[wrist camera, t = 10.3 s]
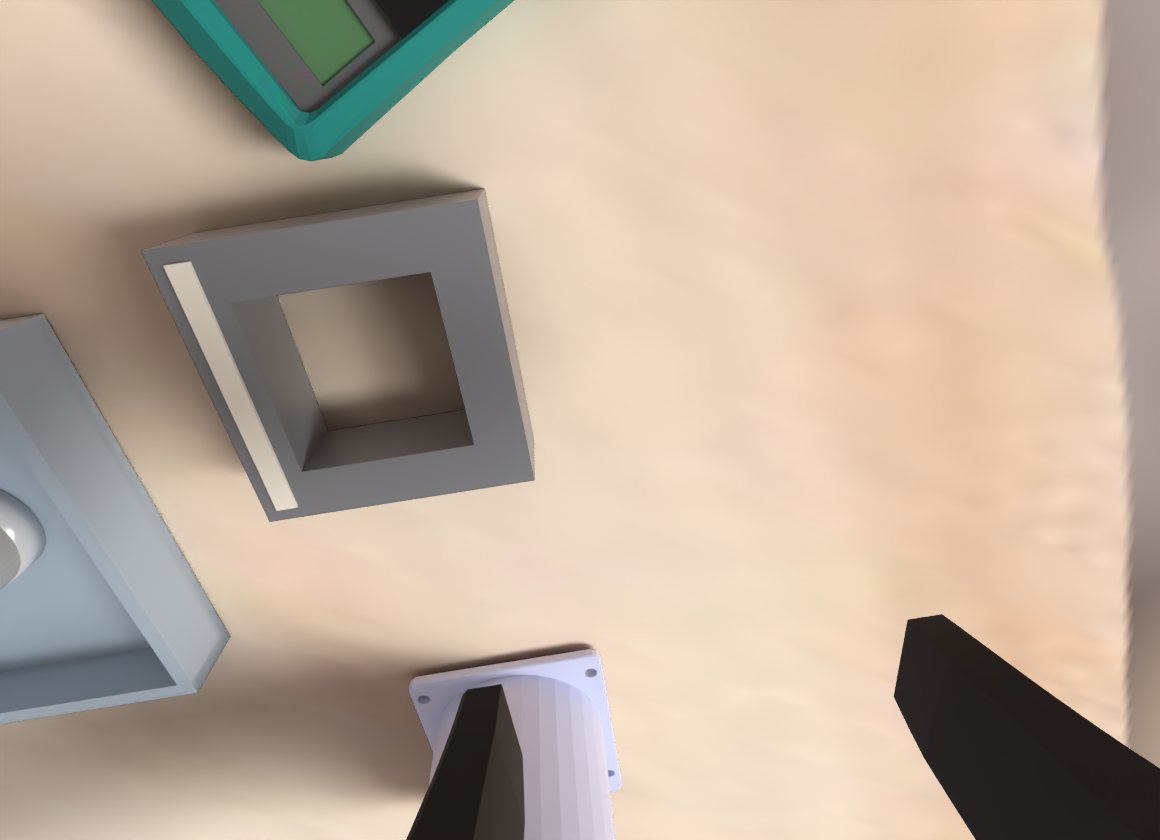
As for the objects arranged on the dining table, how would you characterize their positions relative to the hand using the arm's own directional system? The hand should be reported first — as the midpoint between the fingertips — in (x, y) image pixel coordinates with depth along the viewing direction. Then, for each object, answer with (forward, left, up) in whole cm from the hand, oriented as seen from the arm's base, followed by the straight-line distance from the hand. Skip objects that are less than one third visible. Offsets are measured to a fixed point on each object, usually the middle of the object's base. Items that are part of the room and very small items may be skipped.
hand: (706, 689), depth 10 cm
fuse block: (+4, +7, -10) cm, 13 cm away
